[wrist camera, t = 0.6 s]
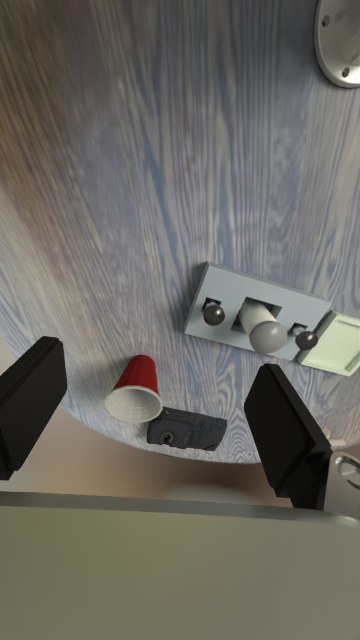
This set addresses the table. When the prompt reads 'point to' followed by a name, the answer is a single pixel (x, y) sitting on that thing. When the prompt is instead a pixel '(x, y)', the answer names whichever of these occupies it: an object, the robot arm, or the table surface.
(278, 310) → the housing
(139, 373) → the plastic cup
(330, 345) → the tray
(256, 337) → the cartridge
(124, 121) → the table surface
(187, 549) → the robot arm
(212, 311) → the plunger
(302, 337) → the plunger
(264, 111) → the table surface
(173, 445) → the dark slate chunk
